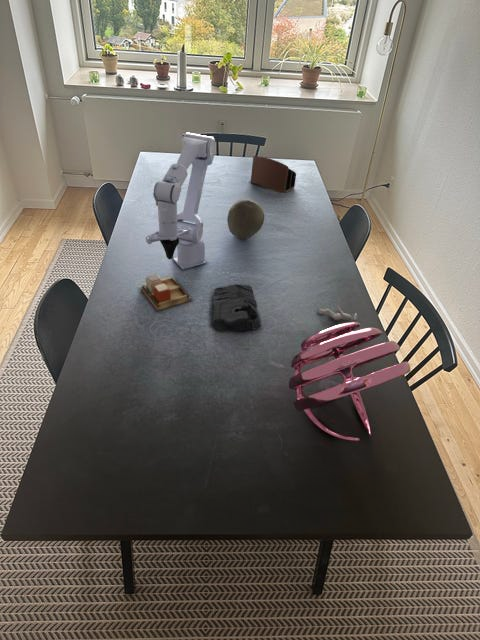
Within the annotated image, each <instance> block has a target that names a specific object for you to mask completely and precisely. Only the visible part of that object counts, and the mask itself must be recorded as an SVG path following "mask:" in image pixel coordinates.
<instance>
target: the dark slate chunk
mask: <svg viewBox="0 0 480 640" xmlns="http://www.w3.org/2000/svg"><path fill="white" fill-rule="evenodd" d="M211 306H212V307H211V309H212V310H211V319H210V321H211V322H210V323H211V326H212V327H214V328H216V329H215V330H216V331H221V332H227V331H229V332H230V331H231V332H247V331H252V330H255V329H260V328H261V327H262V320H261V316H260V313H259V310H258V304H257V300H256V297H255V294H254V289H253V286H251V284H249V285H248V284H239V283H235V284H228V285H224V286H219V287H216V288H214V291H213V297H212V305H211ZM251 319H254V320H251Z"/></svg>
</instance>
